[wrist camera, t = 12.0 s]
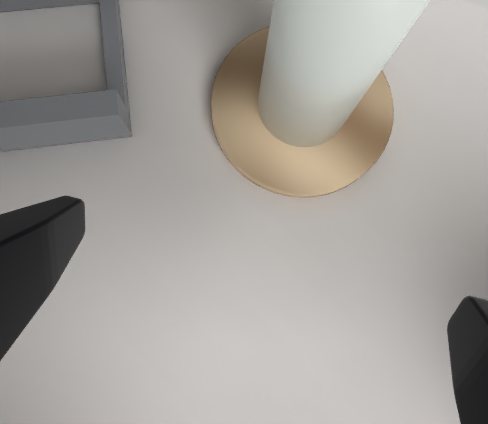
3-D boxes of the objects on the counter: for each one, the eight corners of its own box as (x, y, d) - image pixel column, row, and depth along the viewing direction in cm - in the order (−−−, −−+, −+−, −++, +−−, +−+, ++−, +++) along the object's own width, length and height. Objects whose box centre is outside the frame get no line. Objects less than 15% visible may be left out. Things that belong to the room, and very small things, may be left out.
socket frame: (131, 136, 20) (118, 114, 17) (-81, 161, 19) (-126, 142, 17) (116, -19, 22) (102, -59, 19) (-80, -2, 21) (-121, -41, 18)
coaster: (364, 220, 20) (370, 217, 19) (187, 166, 20) (186, 161, 19) (403, 60, 21) (410, 51, 21) (241, 11, 22) (242, 1, 21)
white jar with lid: (308, 168, 19) (432, -20, 8) (236, 106, 20) (249, -158, 8) (367, 102, 20) (561, -159, 8) (296, 44, 20) (388, -278, 9)
